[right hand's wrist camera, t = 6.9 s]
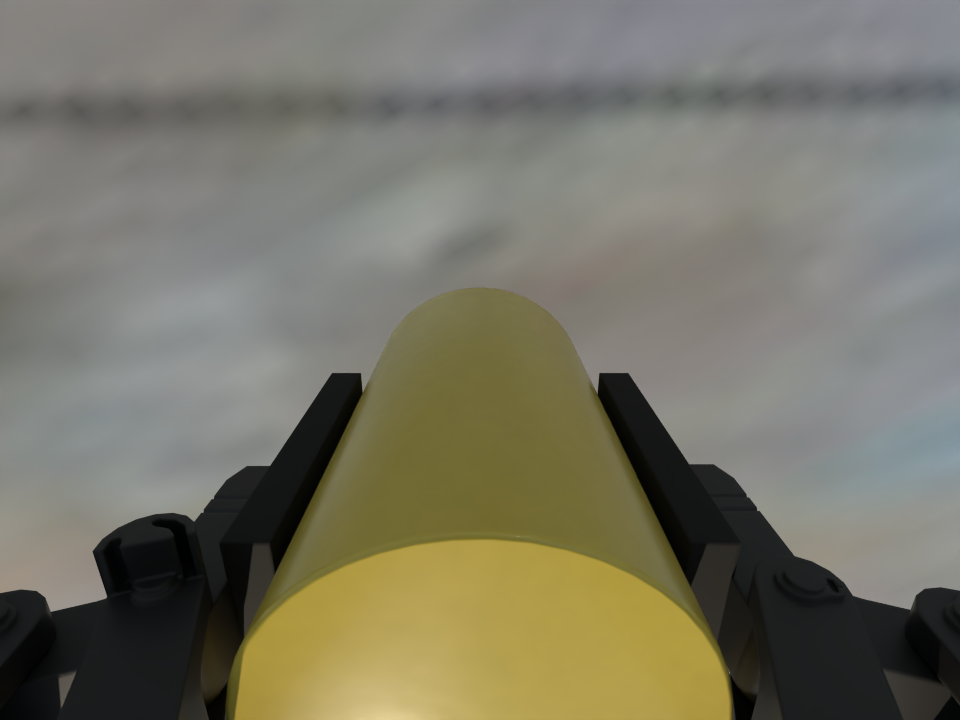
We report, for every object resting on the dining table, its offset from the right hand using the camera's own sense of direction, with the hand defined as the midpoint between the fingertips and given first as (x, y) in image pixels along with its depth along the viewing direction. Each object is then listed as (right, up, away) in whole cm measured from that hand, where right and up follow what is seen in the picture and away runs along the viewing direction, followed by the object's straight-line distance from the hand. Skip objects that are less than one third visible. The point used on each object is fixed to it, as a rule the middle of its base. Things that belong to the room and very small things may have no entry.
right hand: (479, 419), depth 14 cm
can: (0, +1, +2) cm, 2 cm away
